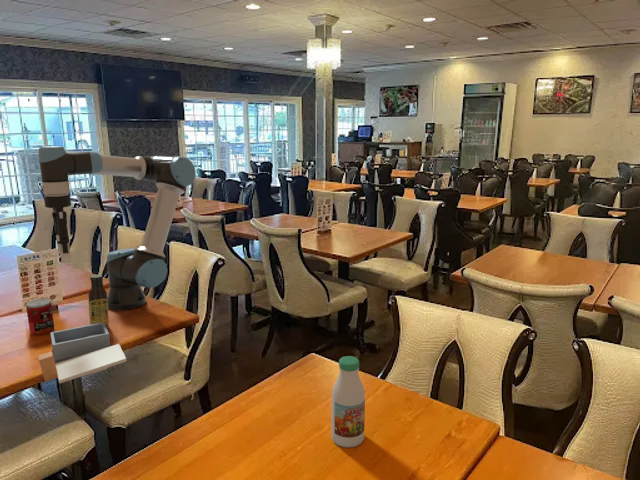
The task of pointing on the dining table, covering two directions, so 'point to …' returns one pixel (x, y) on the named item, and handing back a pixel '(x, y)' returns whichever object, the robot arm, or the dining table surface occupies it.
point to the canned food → (40, 316)
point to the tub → (79, 341)
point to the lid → (80, 364)
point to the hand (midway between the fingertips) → (64, 258)
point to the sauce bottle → (98, 301)
